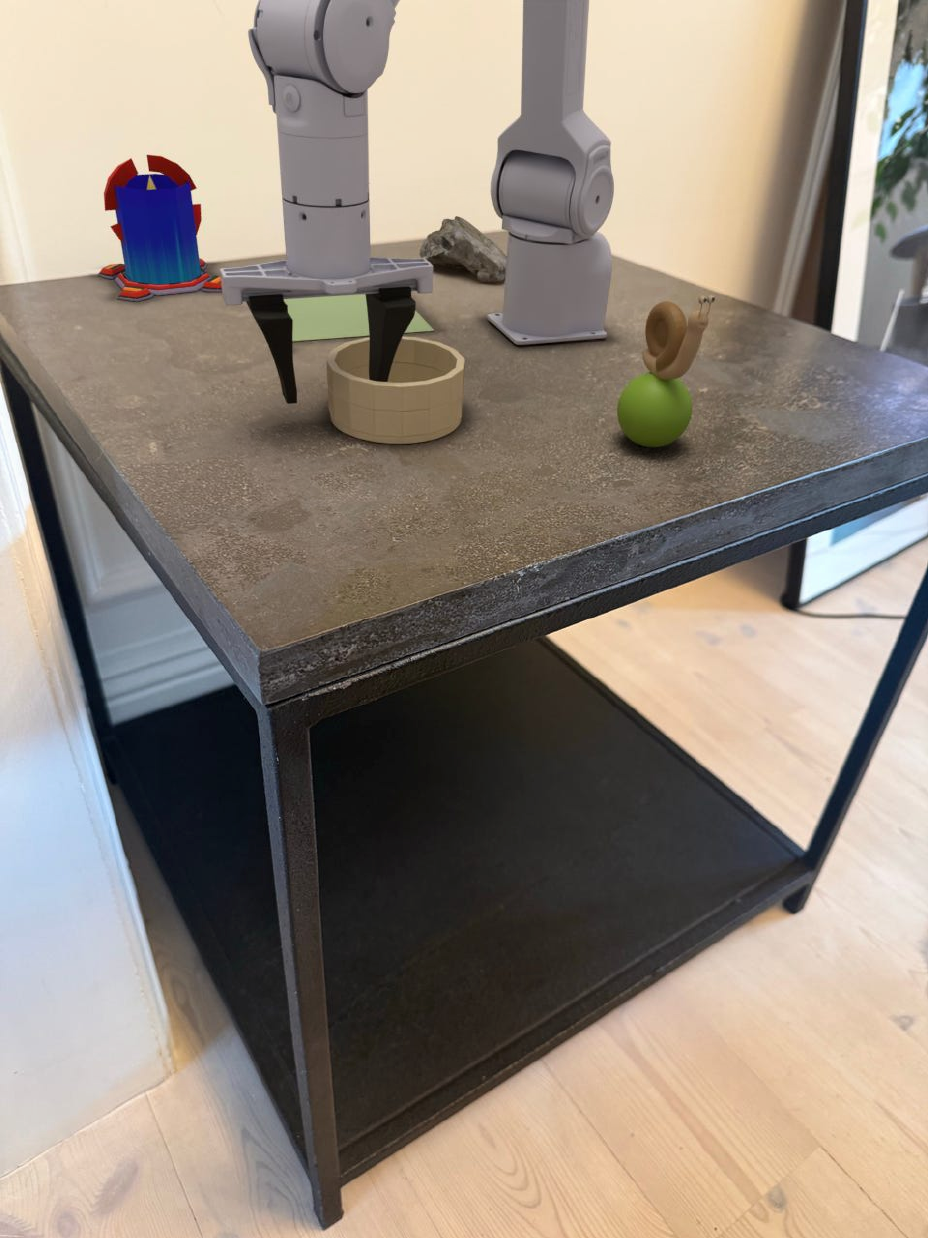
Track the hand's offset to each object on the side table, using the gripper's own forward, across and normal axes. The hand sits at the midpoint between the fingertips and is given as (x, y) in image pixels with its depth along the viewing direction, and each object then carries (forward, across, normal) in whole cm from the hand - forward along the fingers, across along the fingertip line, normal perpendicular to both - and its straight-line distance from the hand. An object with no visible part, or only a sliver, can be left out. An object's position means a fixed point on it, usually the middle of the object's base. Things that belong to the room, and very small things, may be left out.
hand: (334, 394), depth 68 cm
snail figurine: (+2, +22, -10) cm, 24 cm away
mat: (+2, +7, +25) cm, 26 cm away
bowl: (+2, +5, 0) cm, 5 cm away
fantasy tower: (+2, -9, +39) cm, 40 cm away
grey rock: (+2, +24, +37) cm, 44 cm away
